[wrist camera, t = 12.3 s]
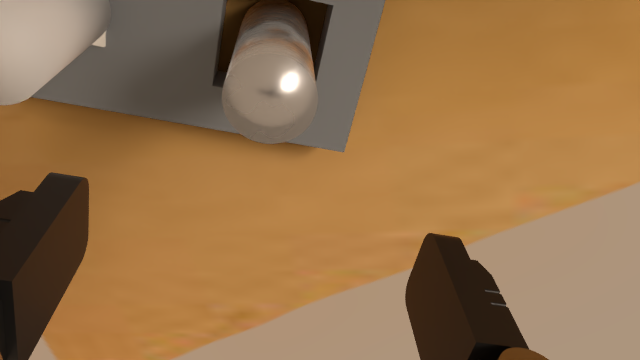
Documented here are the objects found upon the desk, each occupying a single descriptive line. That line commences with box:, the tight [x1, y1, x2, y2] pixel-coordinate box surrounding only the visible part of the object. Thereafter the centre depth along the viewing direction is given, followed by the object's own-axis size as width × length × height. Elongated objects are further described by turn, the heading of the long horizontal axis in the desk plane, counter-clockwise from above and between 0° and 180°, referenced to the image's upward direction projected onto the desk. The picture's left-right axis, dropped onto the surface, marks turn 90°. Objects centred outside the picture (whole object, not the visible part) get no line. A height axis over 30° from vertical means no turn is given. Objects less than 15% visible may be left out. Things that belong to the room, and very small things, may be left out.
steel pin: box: [222, 0, 318, 144], centre depth 24 cm, size 4×4×10 cm
